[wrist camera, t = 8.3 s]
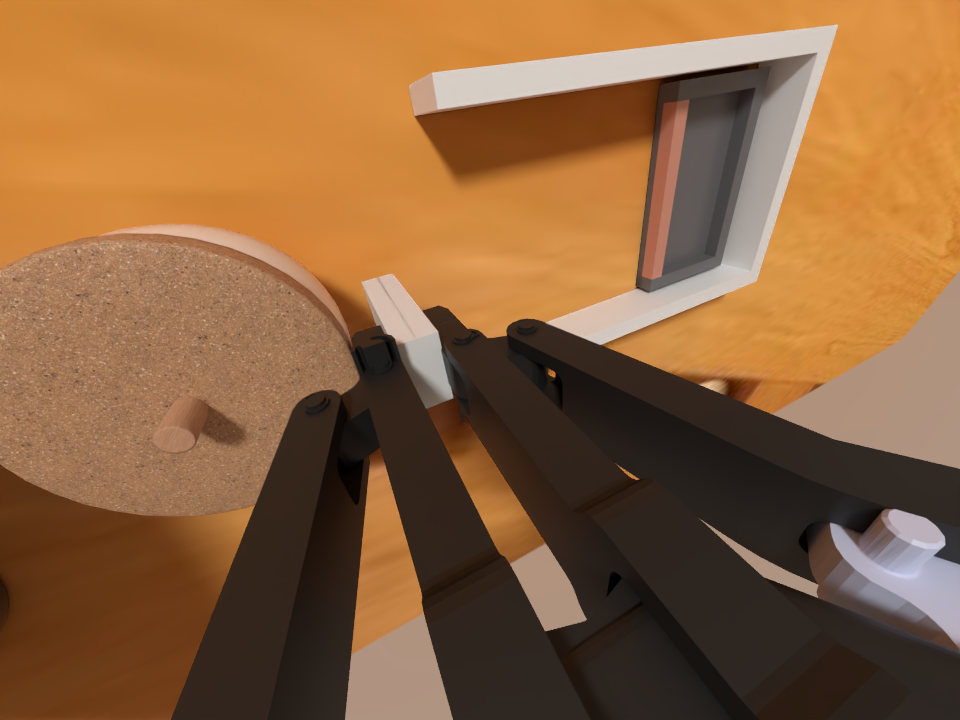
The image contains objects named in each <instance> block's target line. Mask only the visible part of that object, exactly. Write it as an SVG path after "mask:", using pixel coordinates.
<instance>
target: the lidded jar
mask: <svg viewBox="0 0 960 720" xmlns="http://www.w3.org/2000/svg"><path fill="white" fill-rule="evenodd" d="M352 347H353V345H352V342H351V337H350V334H349V331H348V327H347V325H346V322H345V320H344V318H343V316H342V314H341V312H340V310H339V308H338V306H337V304H336V302H335V301H334V299H333V298H332V297H331V295H330V294H329V292H328V291H327V290H326V288H325V287H324V286H323V285H322V284H321V283H320V281H319V280H318V279H317V278H316V277H315V276H314V275H313V274H312V273H311V272H310V271H309V270H308V269H307V268H305V267H304V266H303V265H301V264H300V263H299V262H298V261H296V260H295V259H294V258H292V257H291V256H290V255H288V254H286V253H284V252H283V251H281V250H279V249H277V248H276V247H274V246H272V245H270V244H268V243H266V242H263V241H261V240H258V239H256V238H254V237H251V236H248V235H245V234H241V233H238V232H234V231H231V230H227V229H222V228H215V227H208V226H202V225H195V224H158V225H150V226H142V227H134V228H126V229H120V230H117V231H113V232H110V233H106V234H103V235H99V236H96V237H89V238H82V239H78V240H74V241H71V242H67V243H64V244H60V245H57V246H53V247H50V248H46V249H43V250H40V251H37V252H34V253H32V254H29V255H27V256H25V257H23V258H21V259H19V260H17V261H15V262H13V263H11V264H9V265H7V266H5V267H3V268H0V465H2V466H3V467H5V468H6V469H8V470H9V471H11V472H13V473H14V474H16V475H17V476H19V477H20V478H22V479H24V480H25V481H27V482H29V483H31V484H33V485H36V486H38V487H40V488H42V489H45V490H47V491H49V492H51V493H53V494H56V495H59V496H62V497H64V498H67V499H70V500H73V501H76V502H79V503H82V504H85V505H89V506H94V507H98V508H103V509H107V510H111V511H117V512H124V513H131V514H137V515H149V516H199V515H207V514H215V513H222V512H227V511H232V510H237V509H242V508H247V507H250V506H253V505H255V504H256V502H257V499H258V497H259V494H260V492H261V489H262V487H263V484H264V481H265V479H266V476H267V474H268V471H269V469H270V466H271V464H272V461H273V458H274V456H275V453H276V451H277V448H278V446H279V443H280V441H281V438H282V436H283V433H284V430H285V428H286V425H287V423H288V420H289V418H290V415H291V413H292V410H293V409H294V407H295V406H296V404H297V403H298V402H299V401H301V400H302V399H303V398H304V397H306V396H308V395H309V394H312V393H314V392H318V391H321V390H334V391H337V392H338V393H339V394H340V395H342V394H343V393H345V392H347V391H348V390H350V389H351V388H352V387H354V386H355V385H356V384H357V382H358V381H359V379H360V375H359V372H358V370H357V367H356V365H355V362H354V360H353V357H352V355H351V348H352Z"/></svg>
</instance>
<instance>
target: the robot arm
mask: <svg viewBox="0 0 960 720" xmlns="http://www.w3.org/2000/svg"><path fill="white" fill-rule="evenodd" d="M362 285H363V288H364V291H365V294H366V297H367V300H368V303H369V306H370V309H371V312H372V314H373V317H374V320H375V323H376V326H375V327H372V328H369V329H366V330H363V331H359V332H356V333H355V334H354V336H353V338H352V340H351V342H352V345H353V347H352V348H351V355H352V357H353V360H354V362H355V365H356V367H357V370H358V372H359V375H360V379H359V381H358V382H357V384H356V385H355V386H354V387H352V388H351V389H350V390H348V391H347V392H345V393H343V394H342V395H340V394H339V393H338V392H337V391H334V390H321V391H318V392H314V393H312V394H309V395H308V396H306V397H304V398H303V399H302V400H301V401H299V402H298V403H297V404H296V406H295V407H294V409H293V410H292V413H291V415H290V418H289V420H288V423H287V425H286V428H285V430H284V433H283V436H282V438H281V441H280V443H279V446H278V448H277V451H276V453H275V456H274V458H273V461H272V464H271V466H270V469H269V471H268V474H267V476H266V479H265V481H264V484H263V487H262V489H261V492H260V494H259V497H258V499H257V502H256V504H255V507H254V509H253V512H252V515H251V517H250V520H249V522H248V525H247V527H246V530H245V532H244V535H243V537H242V540H241V543H240V545H239V548H238V550H237V553H236V555H235V558H234V560H233V563H232V566H231V568H230V571H229V573H228V576H227V578H226V581H225V583H224V586H223V588H222V591H221V594H220V596H219V599H218V601H217V604H216V606H215V609H214V611H213V614H212V616H211V619H210V622H209V624H208V627H207V629H206V632H205V634H204V637H203V639H202V642H201V645H200V647H199V650H198V652H197V655H196V657H195V660H194V662H193V665H192V667H191V670H190V673H189V675H188V678H187V680H186V683H185V685H184V688H183V690H182V693H181V695H180V698H179V701H178V703H177V706H176V708H175V711H174V713H173V716H172V718H171V720H345V712H346V702H347V692H348V681H349V670H350V660H351V650H352V640H353V630H354V619H355V609H356V599H357V588H358V578H359V568H360V557H361V547H362V537H363V526H364V516H365V506H366V495H367V485H368V475H369V465H370V461H369V456H368V455H370V454H371V453H373V452H374V451H376V450H377V449H378V448H381V451H382V455H383V458H384V462H385V465H386V469H387V472H388V476H389V479H390V483H391V486H392V490H393V493H394V497H395V500H396V504H397V507H398V511H399V514H400V518H401V521H402V525H403V528H404V532H405V535H406V539H407V542H408V546H409V549H410V553H411V557H412V560H413V564H414V567H415V571H416V574H417V578H418V581H419V585H420V588H421V592H422V606H423V611H424V615H425V619H426V623H427V627H428V630H429V634H430V638H431V641H432V645H433V649H434V652H435V655H436V659H437V663H438V667H439V670H440V674H441V677H442V681H443V684H444V688H445V692H446V695H447V699H448V703H449V706H450V710H451V714H452V717H453V720H960V469H958V468H954V467H949V466H945V465H941V464H936V463H931V462H928V461H923V460H919V459H915V458H911V457H907V456H902V455H898V454H893V453H890V452H885V451H881V450H876V449H872V448H868V447H864V446H860V445H855V444H851V443H847V442H843V441H838V440H834V439H831V438H829V437H826V436H824V435H821V434H819V433H817V432H814V431H811V430H809V429H807V428H804V427H802V426H799V425H797V424H794V423H792V422H789V421H787V420H784V419H782V418H779V417H777V416H774V415H772V414H770V413H767V412H765V411H762V410H760V409H757V408H755V407H752V406H750V405H747V404H745V403H742V402H740V401H737V400H735V399H733V398H730V397H728V396H725V395H723V394H720V393H718V392H715V391H713V390H710V389H708V388H705V387H703V386H700V385H698V384H695V383H693V382H691V381H688V380H686V379H683V378H681V377H678V376H676V375H673V374H671V373H668V372H666V371H663V370H661V369H658V368H656V367H653V366H651V365H649V364H646V363H644V362H641V361H639V360H636V359H634V358H631V357H629V356H626V355H624V354H621V353H619V352H616V351H614V350H611V349H609V348H607V347H604V346H602V345H599V344H597V343H594V342H592V341H589V340H587V339H584V338H582V337H579V336H577V335H574V334H572V333H569V332H567V331H564V330H562V329H560V328H557V327H555V326H552V325H550V324H547V323H545V322H542V321H539V320H535V319H521V320H518V321H516V322H513V323H512V324H510V325H509V326H508V328H507V336H503V337H496V338H487V337H486V336H484V335H483V334H482V333H481V332H480V331H478V330H474V329H467V328H466V327H465V326H464V325H463V324H462V323H461V322H460V321H459V320H458V319H457V318H456V317H455V316H454V315H453V314H452V313H451V312H450V311H449V309H447V308H444V307H441V306H436V307H433V308H430V309H427V310H423V311H422V310H421V309H420V308H419V307H418V305H417V304H416V303H415V302H414V300H413V299H412V298H411V296H410V295H409V294H408V293H407V291H406V290H405V289H404V288H403V286H402V285H401V284H400V282H399V281H398V280H397V279H396V277H395V276H394V275H393V274H388V275H384V276H381V277H377V278H374V279H370V280H366V281H363V282H362ZM548 368H549V369H551V370H553V371H554V372H556V377H555V378H554V377H551V376H550V375H548ZM451 388H452V389H453V391H454V392H455V394H456V398H457V403H458V407H459V412H460V416H461V420H462V422H465V419H464V416H465V417H466V419H467V420H468V422H469V423H470V425H471V427H472V428H473V430H474V431H475V433H476V434H477V436H478V438H479V439H480V441H481V442H482V444H483V445H484V447H485V448H486V450H487V452H488V453H489V455H490V456H491V458H492V459H493V461H494V463H495V464H496V466H497V467H498V469H499V470H500V472H501V474H502V475H503V477H504V478H505V480H506V481H507V483H508V484H509V486H510V488H511V489H512V491H513V492H514V494H515V495H516V497H517V499H518V500H519V502H520V503H521V505H522V506H523V508H524V510H525V511H526V513H527V514H528V516H529V517H530V519H531V520H532V522H533V524H534V525H535V527H536V528H537V530H538V531H539V533H540V535H541V536H542V538H543V539H544V541H545V542H546V544H547V546H548V547H549V549H550V550H551V552H552V553H553V555H554V556H555V558H556V560H557V561H558V563H559V564H560V566H561V567H562V569H563V571H564V572H565V574H566V575H567V577H568V579H569V580H570V582H571V584H572V586H573V588H574V590H575V593H576V596H577V599H578V602H579V604H580V606H581V609H582V611H583V613H584V615H585V617H586V618H587V620H586V621H584V622H581V623H577V624H573V625H569V626H565V627H562V628H557V629H554V630H550V631H546V632H545V631H544V629H543V627H542V625H541V623H540V621H539V619H538V617H537V615H536V613H535V611H534V609H533V607H532V605H531V603H530V602H529V600H528V598H527V596H526V594H525V592H524V590H523V588H522V586H521V584H520V582H519V580H518V578H517V576H516V575H515V573H514V571H513V569H512V567H511V566H510V564H509V562H508V561H507V560H506V558H505V557H504V556H502V555H500V553H499V552H498V550H497V548H496V547H495V545H494V543H493V541H492V539H491V537H490V535H489V533H488V531H487V529H486V527H485V525H484V523H483V521H482V519H481V517H480V515H479V513H478V511H477V509H476V507H475V505H474V503H473V501H472V499H471V497H470V495H469V493H468V491H467V489H466V487H465V485H464V483H463V481H462V479H461V477H460V475H459V473H458V471H457V469H456V467H455V465H454V463H453V461H452V459H451V457H450V455H449V453H448V451H447V449H446V448H445V446H444V444H443V442H442V440H441V438H440V436H439V434H438V432H437V430H436V428H435V426H434V424H433V422H432V420H431V418H430V416H429V414H428V412H427V410H426V409H427V408H430V407H432V406H435V405H437V404H440V403H442V402H445V401H447V400H450V399H453V394H452V390H451ZM615 463H616V464H617V465H619V466H620V467H622V468H623V469H625V470H626V471H628V472H629V473H631V474H633V475H634V476H636V477H637V478H639V479H640V480H635V479H632V478H630V477H629V476H628V475H627V474H625V473H624V472H623V471H622V470H621V469H620V468H619V467H618V466H617V465H616V464H615ZM699 518H700V519H701V520H703V521H704V522H706V523H707V524H709V525H710V526H712V527H713V528H715V529H716V530H718V531H719V532H721V533H723V534H724V535H726V536H727V537H729V538H731V539H732V540H733V541H735V542H737V543H738V544H740V545H742V546H743V547H745V548H746V549H748V550H750V551H752V552H753V553H755V554H756V555H758V556H760V557H762V558H764V559H765V560H768V561H769V562H771V563H773V564H775V565H777V566H779V567H781V568H783V569H785V570H787V571H789V572H791V573H793V574H796V575H798V576H800V577H802V578H805V579H807V580H809V581H811V582H814V583H816V584H818V585H819V586H818V589H817V595H818V598H816V597H814V596H811V595H809V594H806V593H803V592H801V591H798V590H795V589H793V588H790V587H787V586H785V585H782V584H780V583H777V582H775V581H772V580H769V579H767V578H764V577H763V576H762V575H760V574H759V573H758V572H757V571H756V570H755V569H754V568H753V567H752V566H751V565H749V564H748V563H747V562H746V561H745V560H744V559H743V558H742V557H741V556H740V555H738V554H737V553H736V552H735V551H734V550H733V549H732V548H730V546H729V545H727V544H726V543H725V542H724V541H723V540H722V539H721V538H720V537H719V536H718V535H717V534H715V533H714V532H713V531H712V530H711V529H710V528H709V527H708V526H707V525H706V524H705V523H703V522H702V521H701V520H700V519H699ZM8 608H9V602H8V596H7V592H6V590H5V588H4V586H3V584H2V583H1V581H0V631H1V629H2V627H3V625H4V623H5V621H6V618H7V614H8Z"/></svg>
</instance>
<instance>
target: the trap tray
mask: <svg viewBox="0 0 960 720" xmlns="http://www.w3.org/2000/svg"><path fill="white" fill-rule="evenodd" d="M770 68H771V66H770V67H764V68H758V69H752V70H745V71H739V72H733V73H726V74H720V75H714V76H707V77H701V78H695V79H689V80H682V81H676V82H671V83H665V84H660V87H659V95H658V104H657V112H656V120H655V129H654V137H653V146H652V154H651V162H650V171H649V179H648V188H647V196H646V205H645V213H644V221H643V230H642V238H641V247H640V255H639V263H638V272H637V280H636V286H637V287H640V288H642V289H645V290H647V291H653V290H656V289H658V288H661V287H664V286H666V285H669V284H672V283H674V282H677V281H680V280H682V279H685V278H688V277H690V276H693V275H696V274H698V273H701V272H704V271H706V270H709V269H712V268H714V267H717V266H720V265H721V262H722V258H723V254H724V250H725V246H726V242H727V238H728V234H729V230H730V226H731V222H732V218H733V214H734V210H735V206H736V202H737V199H738V195H739V191H740V187H741V183H742V179H743V175H744V171H745V167H746V163H747V159H748V155H749V151H750V147H751V143H752V139H753V135H754V131H755V127H756V123H757V119H758V115H759V111H760V108H761V104H762V100H763V96H764V92H765V88H766V84H767V80H768V76H769V72H770Z"/></svg>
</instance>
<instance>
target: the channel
mask: <svg viewBox="0 0 960 720" xmlns="http://www.w3.org/2000/svg"><path fill="white" fill-rule="evenodd" d="M837 28H838V25H831V26H823V27H814V28H806V29H797V30H789V31H780V32H772V33H763V34H755V35H747V36H738V37H730V38H721V39H713V40H704V41H696V42H687V43H679V44H671V45H662V46H654V47H645V48H637V49H628V50H620V51H611V52H603V53H595V54H586V55H578V56H569V57H561V58H552V59H544V60H535V61H527V62H518V63H510V64H502V65H493V66H485V67H476V68H468V69H459V70H451V71H442V72H434V73H430V74H429V75H427V76H425V77H423V78H421V79H419V80H417V81H416V82H414V83H412V84H410V85H408V86H409V91H410V96H411V101H412V106H413V111H414V116H418V115H424V114H431V113H437V112H444V111H450V110H457V109H463V108H470V107H476V106H483V105H489V104H496V103H503V102H509V101H516V100H522V99H529V98H535V97H542V96H548V95H555V94H561V93H568V92H574V91H581V90H588V89H594V88H601V87H607V86H614V85H620V84H627V83H633V82H640V81H646V80H653V79H659V78H666V77H673V76H679V75H686V74H692V73H699V72H705V71H712V70H718V69H725V68H731V67H738V66H744V65H751V64H758V63H759V65H758V68H764V67H770V66H771V68H770V72H769V76H768V80H767V84H766V88H765V92H764V96H763V100H762V104H761V108H760V111H759V115H758V119H757V123H756V127H755V131H754V135H753V139H752V143H751V147H750V151H749V155H748V159H747V163H746V167H745V171H744V175H743V179H742V183H741V187H740V191H739V195H738V199H737V202H736V206H735V210H734V214H733V218H732V222H731V226H730V230H729V234H728V238H727V242H726V246H725V250H724V254H723V258H722V262H721V265H720V266H717V267H714V268H712V269H709V270H706V271H704V272H701V273H698V274H696V275H693V276H690V277H688V278H685V279H682V280H680V281H677V282H674V283H672V284H669V285H666V286H664V287H661V288H658V289H656V290H653V291H647V290H645V289H642V288H638V289H635V290H632V291H629V292H627V293H624V294H621V295H618V296H616V297H613V298H610V299H608V300H605V301H602V302H599V303H597V304H594V305H591V306H588V307H586V308H583V309H580V310H578V311H575V312H572V313H569V314H567V315H564V316H561V317H558V318H556V319H553V320H550V321H548V322H545V323H547V324H550V325H552V326H555V327H557V328H560V329H562V330H564V331H567V332H569V333H572V334H574V335H577V336H579V337H582V338H584V339H587V340H589V341H592V342H594V343H597V344H599V345H602V344H604V343H607V342H609V341H612V340H614V339H616V338H619V337H621V336H624V335H626V334H629V333H631V332H634V331H636V330H638V329H641V328H643V327H646V326H648V325H651V324H653V323H655V322H658V321H660V320H663V319H665V318H668V317H670V316H673V315H675V314H677V313H680V312H682V311H685V310H687V309H690V308H692V307H695V306H697V305H699V304H702V303H704V302H707V301H709V300H712V299H714V298H717V297H719V296H721V295H724V294H726V293H729V292H731V291H734V290H736V289H739V288H741V287H743V286H746V285H748V284H751V283H753V282H756V281H757V278H758V275H759V272H760V269H761V265H762V262H763V259H764V256H765V253H766V250H767V247H768V244H769V240H770V237H771V234H772V231H773V228H774V225H775V222H776V219H777V215H778V212H779V209H780V206H781V203H782V200H783V197H784V193H785V190H786V187H787V184H788V181H789V178H790V175H791V172H792V168H793V165H794V162H795V159H796V156H797V153H798V150H799V146H800V143H801V140H802V137H803V134H804V131H805V128H806V125H807V121H808V118H809V115H810V112H811V109H812V106H813V103H814V100H815V96H816V93H817V90H818V87H819V84H820V81H821V78H822V74H823V71H824V68H825V65H826V62H827V59H828V56H829V53H830V49H831V46H832V43H833V40H834V37H835V34H836V31H837Z"/></svg>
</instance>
